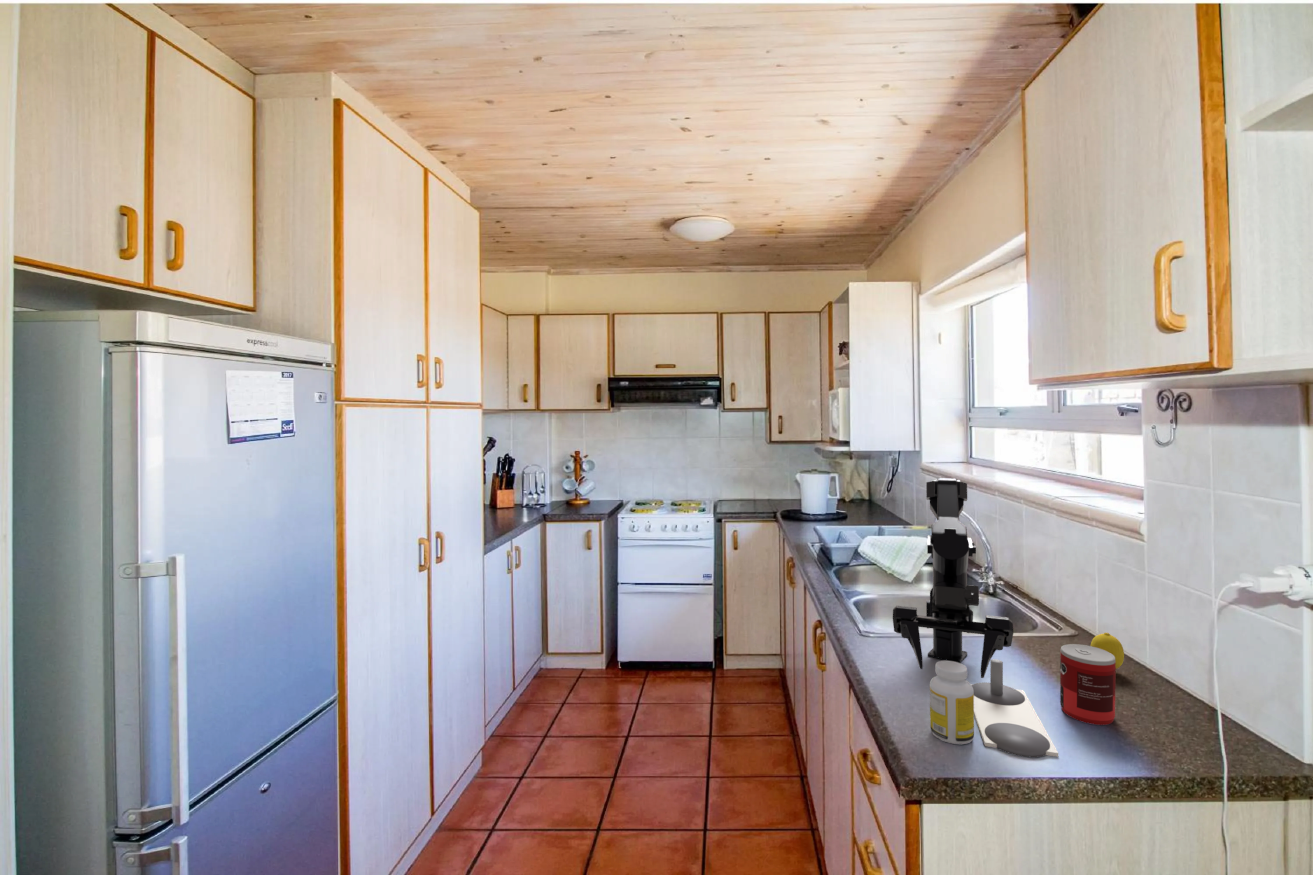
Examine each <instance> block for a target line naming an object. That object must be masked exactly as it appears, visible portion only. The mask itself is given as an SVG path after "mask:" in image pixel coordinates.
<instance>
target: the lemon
mask: <svg viewBox="0 0 1313 875" xmlns="http://www.w3.org/2000/svg"><path fill="white" fill-rule="evenodd" d="M1089 646H1092V647H1096V648H1099V649H1102V650H1105V651H1107V652H1109V653H1111V654H1112V655H1114V657H1115V661H1116V670H1117V669H1119V668H1120V667H1121V666H1122V665H1123V663H1124V660H1125V651H1124V647H1123V644H1122V642H1121V641H1120V640H1119V639H1118V638H1117V637H1115V636H1114V635H1112V634H1111V633H1109V632H1103V633H1100V634H1097V635H1095V636H1094V637H1093V638H1092V639H1091V643H1090V645H1089Z"/></svg>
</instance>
